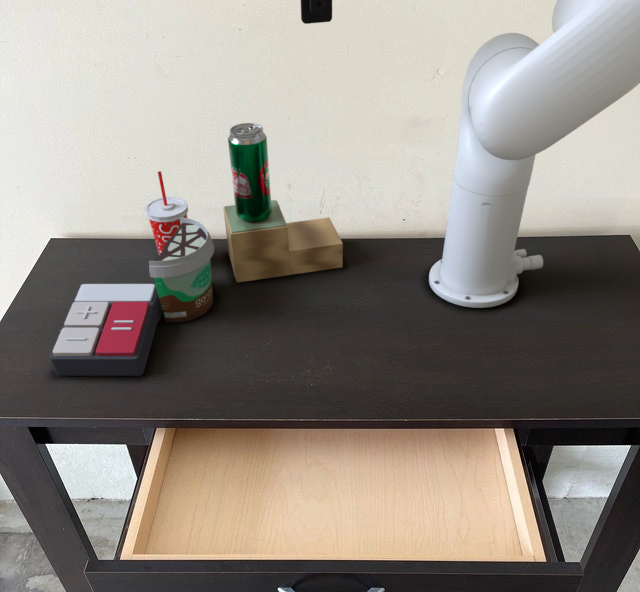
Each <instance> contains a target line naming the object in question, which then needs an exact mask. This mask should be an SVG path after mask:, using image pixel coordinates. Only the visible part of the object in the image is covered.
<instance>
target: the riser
mask: <svg viewBox="0 0 640 592" xmlns="http://www.w3.org/2000/svg"><path fill="white" fill-rule="evenodd" d="M271 207H272V212H271V214H270V215H269V217H268V218H267V219H265V220H263V221H260V222H246V221H243V220H242V219H240V218H239V217H238V216H237V214H236V208H235V204H233V205H225V206H223V207H222V209H223V219H224V225H225V227H224V228H225V233H226V241H227V249H228V255H229V260H230V263H231V266H232V270H233V274H234V278H235V282H236V283H244V282H251V281H257V280H263V279H271V278H277V277H285V276H286V277H287V276H292V275H299V274H305V273H313V272H319V271H327V270H332V269H340V268H343V265H344V262H343V258H344V256H343V254H344V253H343V252H344V244H343V241H342V239H341V237H340V235H339V233H338V231H337V229H336V227H335V225H334V224H333V222H332V219H331V217H322V218H315V219H308V220H299V221H291V222H286V219H285V217H284V214H283V212H282V210H281V207H280V205H279V202H278V200H276V199H271Z"/></svg>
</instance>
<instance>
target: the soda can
mask: <svg viewBox="0 0 640 592" xmlns="http://www.w3.org/2000/svg"><path fill="white" fill-rule="evenodd" d="M267 137H268V136H267V135H266V133H265V132H264V128H263V126H262V125H260V124H259V123H255V122H243V123H238V124H234V125H233V126H231V127H230V128H229V135H228V136H227V144H228V153H229V163H230V170H231V181H232V189H233V199H234V205H235V208H236V214H237V216H238V217H239V218H240V219H242V220H243V221H246V222H260V221H263V220H265V219H267V218H268V217H269V215H270V214H271V212H272V207H271V200H272V195H271V194H272V193H271V180H270V167H269V166H270V164H269V152H268V138H267Z"/></svg>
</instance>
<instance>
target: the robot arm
mask: <svg viewBox="0 0 640 592" xmlns="http://www.w3.org/2000/svg"><path fill="white" fill-rule="evenodd" d="M300 20H301V22H302V23H303V24H305V25H308V24H310V25H311V24H320V23H321V24H322V23H329V22H331V21H332V20H333V0H300ZM551 28H552V33H553V34H551V35H550V36H549V37H547V38H546V39H545V40H544V41H543V42H541V43H540V44H539V43H538V42H537V41H536V40H534V39H533V38H531V37H529V36H528V35H525V34H522V33H518V32H507V33H501V34H498V35H496V36H494V37H492V38H490V39H489V40H487V41H486V42H484V44H482V45H481V46H480V47H479V48H478V49H477V50H476V52H475V53H474V55H473V56H472V58H471V60H470V62H469V63H468V66H467V68H466V71H465V75H464V78H463V83H462V89H461V101H460V116H459V128H458V138H457V139H458V140H457V147H456V156H455V163H454V164H455V165H454V170H453V171H454V172H453V175H452V176H453V177H452V184H451V191H450V199H449V206H448V212H447V219H446V220H447V221H446V228H445V236H444V243H443V249H442V250H443V251H442V258H441V259H439V260H438V261H436V262H435V263H434V264H433V265H432V266H431V268H430V270H429V274H428V282H429V286H430V288H431V290H432V291H433V292H434V293H435V295H437V296H438V297H439V298H441V299H443V300H445V301H446V302H448V303H451V304H453V305H456V306H459V307H460V306H461V307H464V308H472V309H484V308H485V309H486V308H492V307H493V308H494V307H496V306H500V305H503V304H505V303H507V302H508V301H510V300H511V299H513V297H515V295H516V294H517V292H518V287H519V277H518V275H521V274H522V273H523V271H533V270H539V269H542V268H543V266H544V258H543V256H542V255H541V254H535V255H529V256H527V250H526V249H525V248H521V249H516V245H517V240H518V235H519V232H520V226H521V222H522V217H523V212H524V209H525V203H526V199H527V195H528V191H529V186H530V184H531V183H530V182H531V178H532V174H533V171H534V170H533V169H534V165H535V160H536V155H538V154H540V153H542V152H543V151H545V150H547V149H550V147H552V146H554V145H555V144H556V143H558V142H559V141H561V140H562V139H564V138H565V137H567V136H568V135H570V134H572V132H574V131H575V130H577V129H578V128H580V127H582V126H583V125H584V124H586V123H587V122H588V121H590V120H591V119H593V118H594V117H596V116H597V115H599V114H601V112H603V111H604V110H606V109H607V108H609V107H610V106H611V105H613V104H614V103H616V102H617V101H619V100H620V99H621V98H623V97H624V96H626V95H627V94H629V93H630V92H631V91H632V90H634V89H635V88H636V87H637V86H638V85H640V0H557V1H556V2H555V5H554V8H553V12H552V17H551Z"/></svg>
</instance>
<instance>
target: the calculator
mask: <svg viewBox="0 0 640 592" xmlns="http://www.w3.org/2000/svg"><path fill="white" fill-rule="evenodd" d="M162 314H163V310H162V306H161V303H160V299H159V296H158V293H157V289H156V286H155V283H82V284H80V285H79V286H78V288H77V291H76V293H75V295H74V297H73V300H72V302H71V304H70V307H69V310H68V312H67V314H66V316H65V319H64V321H63V324H62V325H61V329H60V332H59V333H58V335H57V338H56V340H55V342H54V345H53V347H52V350H51V352H50V354H49V360H50V363H51V365H52V367H53V370H54V371H55V374H56V375H57V376H60V377H63V376H65V377H66V376H67V377H69V376H72V377H74V376H76V377H77V376H78V377H79V376H81V377H82V376H91V377H93V376H94V377H95V376H96V377H98V376H99V377H100V376H102V377H103V376H104V377H105V376H106V377H107V376H108V377H109V376H110V377H112V376H116V377H119V376H120V377H121V376H122V377H126V376H127V377H132V376H139V377H140V376H142V375H144V372H145V369H146V366H147V362H148V358H149V355H150V352H151V347H152V343H153V341H154V337H155V332H156V330H157V326H158V323H159V322H160V321H161V318H162Z"/></svg>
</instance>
